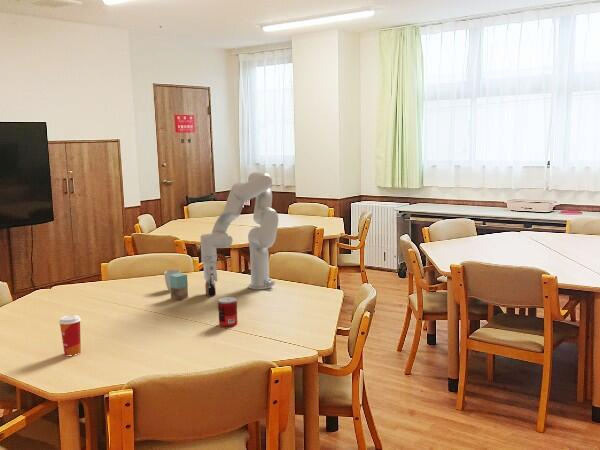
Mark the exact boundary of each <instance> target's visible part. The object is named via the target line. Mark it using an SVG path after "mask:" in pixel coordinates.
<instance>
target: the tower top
mask: <svg viewBox="0 0 600 450" xmlns="http://www.w3.org/2000/svg"><path fill="white" fill-rule="evenodd" d="M188 286H189V285H188V274H186V273H181V272H180V273H178V274H173V275H170V287H172V288H176V289H180V288H184V287H188Z"/></svg>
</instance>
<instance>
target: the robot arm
mask: <svg viewBox="0 0 600 450" xmlns="http://www.w3.org/2000/svg"><path fill="white" fill-rule="evenodd" d="M272 185H273V178H272V176H271V175H269V173H267V172H266V173H265V172H256V171H254V172H251V173H250V174H249V175H248V177H247V182H245V183H244V182H236V183H234V184H232V186H231V188H230V191H229V194H228V195H227V196H228V197H227V200H226V203H225V205H224V209H223V211H222V212H221V213H220V214H219V216H218V217H217V219H216V221H215V222H214V225H213V228H212V230H211V233H203V234H202V235H200V256H201V263H203V278H204V280H205V283H208V282H209V288H208V290H209V296H208V297H213V296H212V295H215V287H216V282H218V273H217V271H218V270H217V263H216V262H217V261H218V257H217V249H219V248H220V249H225V248H226V249H227V248H229V247H231V246H232V244H233V237H232V235H230V234H229V233H227V231H228V228H229V227H230V224H232V223H233V221H235V220H237V219H238V218H239V217H240V216H241V213H242V210H243V207H244V204H245V201H250V200H253V199H254V198H255V203H254V210H253V217H252V218H253V221H254V222H255V224H257V225H260V226H255V227H253V228H251V229H250V230H249V232H248V235H247V240H248V241H247V242H248V246H249V247H248V248H249V256H250V257H249V258H250V260H249V261H250V279H251V280H250V283H249V284H248V285H247V286H248V288H249V289H252V290H267V289H271V288H273V286H275V284H276V281H274V280H272V278H271V277H270V263H269V262H270V259H269V258H270V257H269V255H270V254H269V248H271V247H273V246H274V244H275V242H276V238H277V234H278V233H277V232H278V226H279V213H278V212H277V211H276V210H275V209H274V208H272V203H273V192H272V188H271V187H272ZM210 283H211V284H210ZM215 296H216V295H215Z"/></svg>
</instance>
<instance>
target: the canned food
mask: <svg viewBox="0 0 600 450" xmlns="http://www.w3.org/2000/svg"><path fill="white" fill-rule="evenodd" d="M217 309H218V324H219V326H220V327H222V328H232V327H236V325H238V301H237V297H234V296H226V297H221V298H219V299H218V300H217Z"/></svg>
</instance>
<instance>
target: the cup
mask: <svg viewBox="0 0 600 450" xmlns="http://www.w3.org/2000/svg"><path fill="white" fill-rule="evenodd" d="M163 273H164V274H163V275H164V280H165V286H166V288H167V290H168V292H171V288H172V287H170V275H173V274H178V273H181V270H179V269H169V270H165V271H164V272H163Z"/></svg>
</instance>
